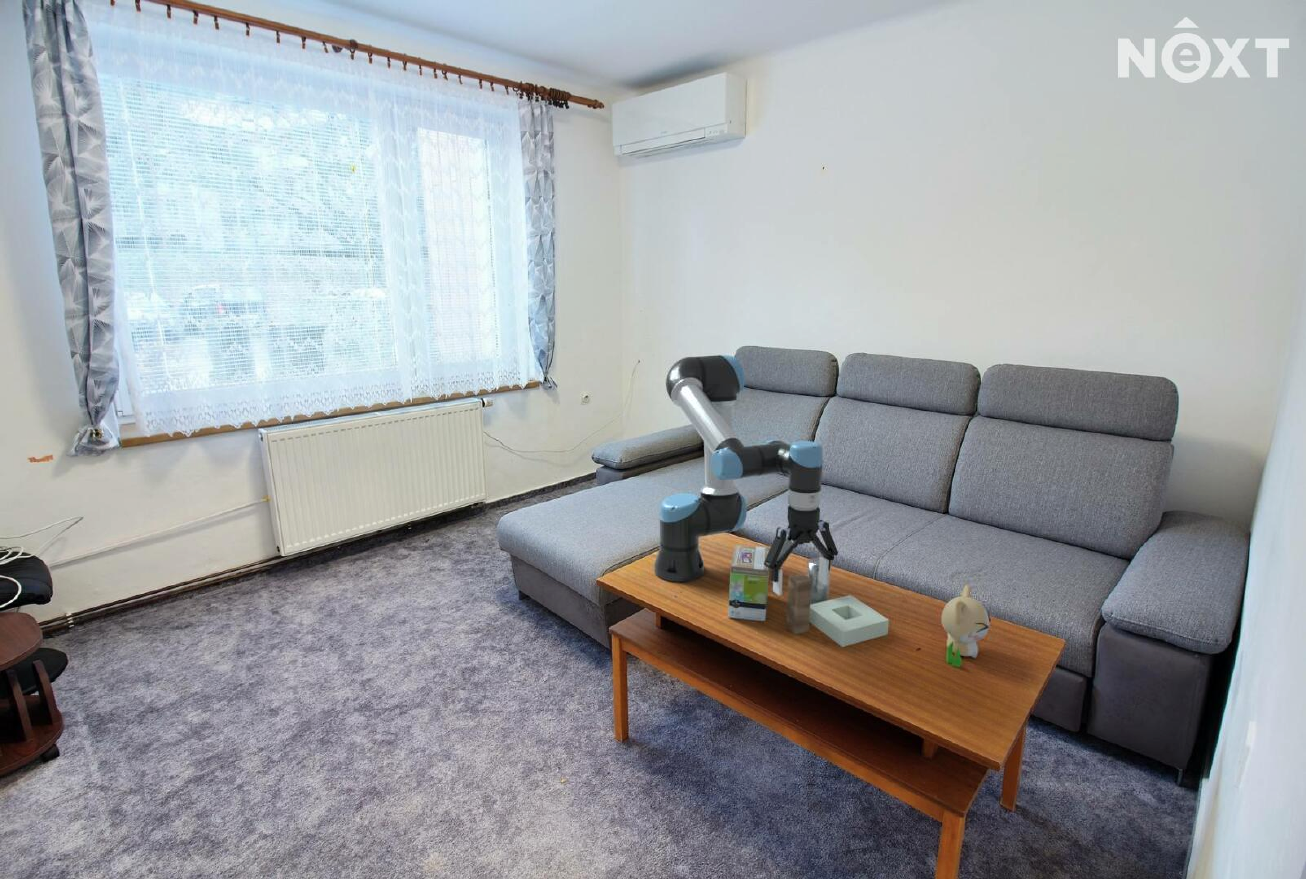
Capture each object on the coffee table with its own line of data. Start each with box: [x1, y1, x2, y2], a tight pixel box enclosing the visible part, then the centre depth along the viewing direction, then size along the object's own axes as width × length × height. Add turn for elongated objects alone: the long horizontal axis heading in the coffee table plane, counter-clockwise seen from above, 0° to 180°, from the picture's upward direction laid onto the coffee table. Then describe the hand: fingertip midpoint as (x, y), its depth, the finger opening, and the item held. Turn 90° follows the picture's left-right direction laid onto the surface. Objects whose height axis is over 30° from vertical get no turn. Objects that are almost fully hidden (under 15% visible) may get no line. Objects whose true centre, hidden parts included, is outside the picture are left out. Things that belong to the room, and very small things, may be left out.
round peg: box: [806, 557, 832, 605], centre depth 167 cm, size 6×6×12 cm
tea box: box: [728, 544, 771, 622], centre depth 165 cm, size 15×10×15 cm
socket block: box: [809, 594, 890, 648], centre depth 156 cm, size 14×14×4 cm
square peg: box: [785, 573, 812, 636], centre depth 154 cm, size 4×4×14 cm
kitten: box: [941, 584, 992, 668], centre depth 143 cm, size 15×10×15 cm
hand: (800, 587), depth 152 cm, fingers open, 13 cm apart
